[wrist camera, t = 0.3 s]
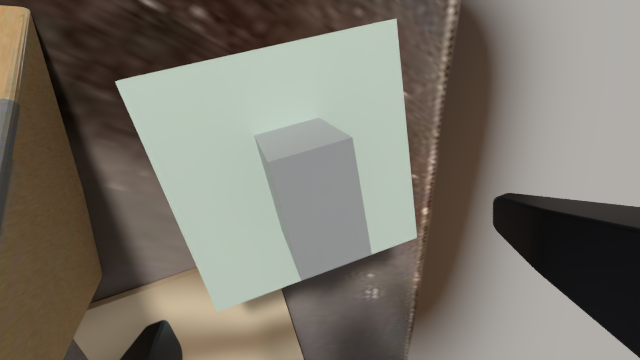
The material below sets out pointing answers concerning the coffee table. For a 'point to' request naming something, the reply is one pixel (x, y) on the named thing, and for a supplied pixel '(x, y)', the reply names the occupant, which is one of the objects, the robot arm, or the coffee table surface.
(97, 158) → the coffee table surface
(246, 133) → the lid
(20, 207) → the wooden ramp
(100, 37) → the coffee table surface
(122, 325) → the cork mat
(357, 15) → the coffee table surface
